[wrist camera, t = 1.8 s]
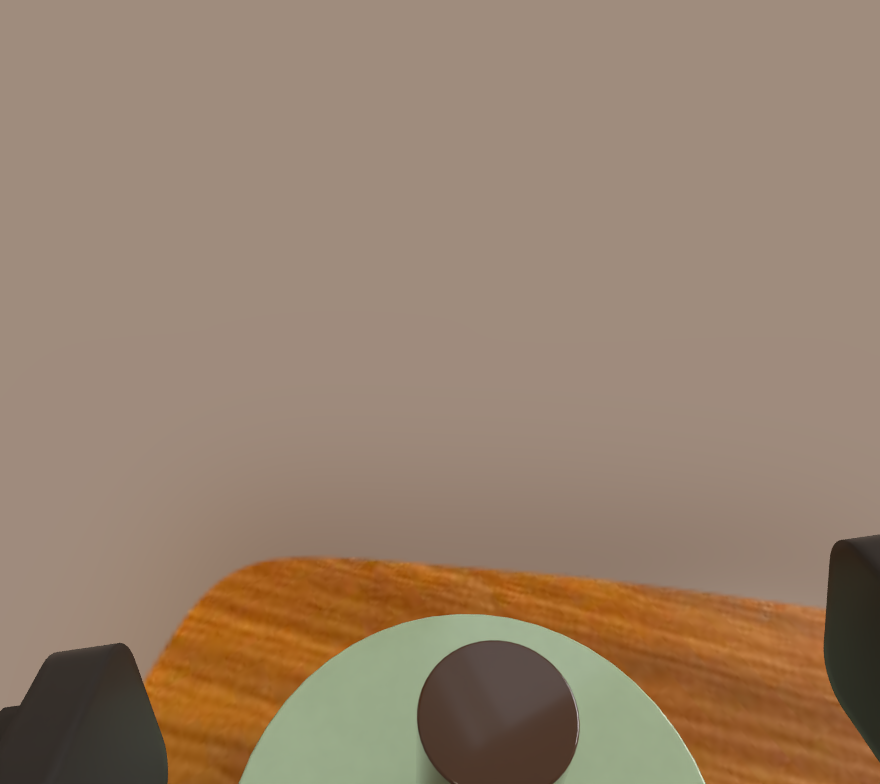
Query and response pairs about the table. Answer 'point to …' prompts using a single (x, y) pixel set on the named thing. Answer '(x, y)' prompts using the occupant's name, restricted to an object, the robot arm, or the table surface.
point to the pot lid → (469, 714)
